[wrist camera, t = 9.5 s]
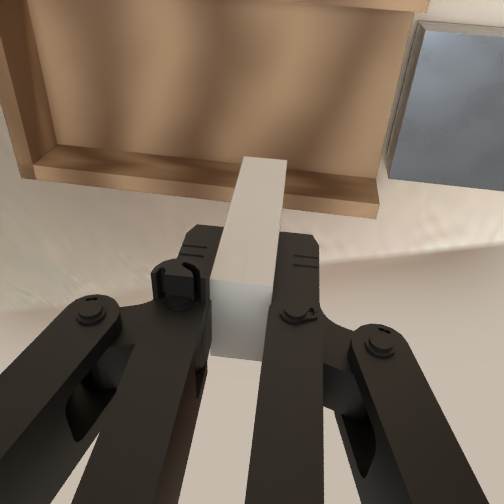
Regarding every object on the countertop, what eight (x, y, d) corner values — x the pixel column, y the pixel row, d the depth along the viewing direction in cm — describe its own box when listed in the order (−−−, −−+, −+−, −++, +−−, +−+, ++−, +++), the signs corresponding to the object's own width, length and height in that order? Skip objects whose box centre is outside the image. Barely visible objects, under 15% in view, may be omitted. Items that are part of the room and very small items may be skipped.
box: (51, 151, 33) (21, 178, 30) (6, -54, 26) (-41, -48, 22) (371, 186, 31) (375, 219, 28) (419, -24, 24) (432, -13, 21)
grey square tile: (384, 160, 29) (388, 178, 28) (418, 20, 25) (425, 30, 23) (517, 174, 29) (530, 194, 27) (578, 33, 24) (599, 45, 22)
